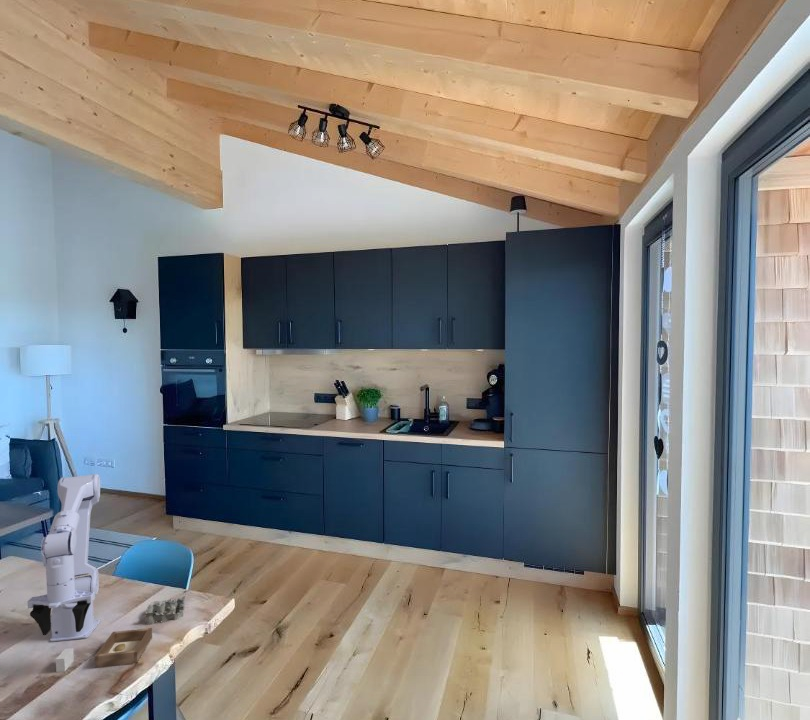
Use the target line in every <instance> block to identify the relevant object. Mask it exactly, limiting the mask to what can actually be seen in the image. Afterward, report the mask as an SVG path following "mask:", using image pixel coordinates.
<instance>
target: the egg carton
mask: <svg viewBox="0 0 810 720" xmlns="http://www.w3.org/2000/svg"><path fill="white" fill-rule="evenodd" d="M185 601H186V597H185V595H184V596H181V597H178V598H174V599H173V598H170V599H166V600H165V599H164V600H156V601H153V602H152V603H150V604H148V606H147V608H146V610H145V612H144V614H143V615H144V621H145V622H144V623H145V624H146V625H147V624H148V625H149V626H150V625H154V623H157V622H161V621H162V622H161V623H165V621H166V622H167V621H168V620H171V619H172V620H174V621H176V620H177V619H178V620H179V619H180V618H182V617H184V611H185V609H186V605H185ZM178 608H179V609H178ZM177 609H178V612H177ZM155 611H157V612H155ZM163 611H164V612H165V611H166V612H167V613H166V614H164V612H163ZM156 621H157V622H156Z"/></svg>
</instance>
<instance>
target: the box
mask: <svg viewBox="0 0 810 720" xmlns="http://www.w3.org/2000/svg"><path fill="white" fill-rule="evenodd" d="M152 639H153V629H152V627H148V628H147V627H146V628H139V629H130V630H128V629H127V630H119V631H118V630H117V631H112V632H111V634H110V635H109V637H108V638H107V639H106V640H105V642H104V644H103V645H101V647H100V648H99V649H98V651H97V653H96V654H95V656H94V666H95V667H94V669H98V668H107V667H115V666H117V667H118V666H123V665H124V666H125V665H126V666H127V665H134V664H133V663H136V664H139V662H138V661H140V660H141V659H142V657H141V656H143V655H144V653H145V652H146V650H147V649H148V646H149V645H150V643H151V641H152ZM142 654H143V655H142ZM139 659H140V660H139Z"/></svg>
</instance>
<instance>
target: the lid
mask: <svg viewBox="0 0 810 720" xmlns="http://www.w3.org/2000/svg"><path fill="white" fill-rule="evenodd" d="M74 660H75V659H74V647H70V648H69V647H68V648H64V649H63V650H62V651H61V653H60V654H59V655H58V656H57V657H56V658H55V669H56V670H55V672H56V673H63V672H66V671H67V670H68V668H69V667H70V666H71V665H72V664H73V662H74Z"/></svg>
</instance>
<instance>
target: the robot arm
mask: <svg viewBox="0 0 810 720" xmlns="http://www.w3.org/2000/svg"><path fill="white" fill-rule="evenodd" d="M57 496H58V498H59V500H60V503H61V510H60V511H59V512H57V513H56V514H55V515H54V518H53V520H52V523H51V526H50V529H49V532H48V534H47V535H46V536H44V537H43V538H42V539H41V543H40V544H41V546H40V555H41V559H42V564H43V567H45V575H46V576H45V578H46V594H43V595H38V596H32V597H31V598H29V599H28V600H27V610H29V609H32V610H31V611H30V612H29V616H30V617H31V618H33V620H34V621H35V622H36V623H37V625H38V626H39V629H40V631H41V634H42V636H47V634H48V633H49V632H50V631H51V638H50V640H49V641H50V642H58V641H61V642H62V641H68V640H69V641H70V640H71V641H72V640H79V639H87V638H88V637H89V636H90V635H91V634H92V632H93V631H94V630H95V629H96V627H97V626H98V625H99V623H101V619H95V617H94V615H95V613H94V601H95V599H96V596H97V595H98V593H99V587H100V579H99V578H100V577H99V570H98V568H97V567H95V566H93V565H91V564H89V562H88V561H89V548H90V547H89V545H90V543H89V542H90V531H91V527H90V526H91V512H92V509H93V507H94V505H96V504H97V503H99V502H100V499H101V498H100V497H101V477H100V475H99V474H98V473H94V474H88V475H77V476H70V477H66V476H65V477H64V476H63V477H60V479H59V480H58V483H57Z"/></svg>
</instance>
